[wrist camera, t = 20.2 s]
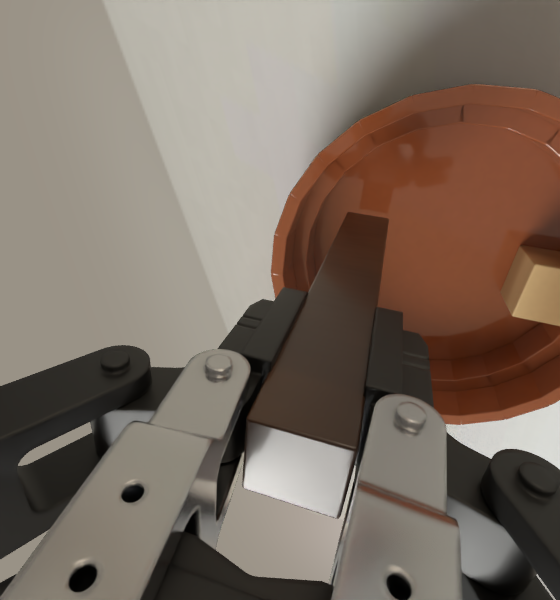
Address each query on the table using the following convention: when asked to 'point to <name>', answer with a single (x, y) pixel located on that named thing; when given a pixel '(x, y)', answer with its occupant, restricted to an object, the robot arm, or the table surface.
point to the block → (534, 285)
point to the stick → (320, 379)
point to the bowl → (446, 234)
